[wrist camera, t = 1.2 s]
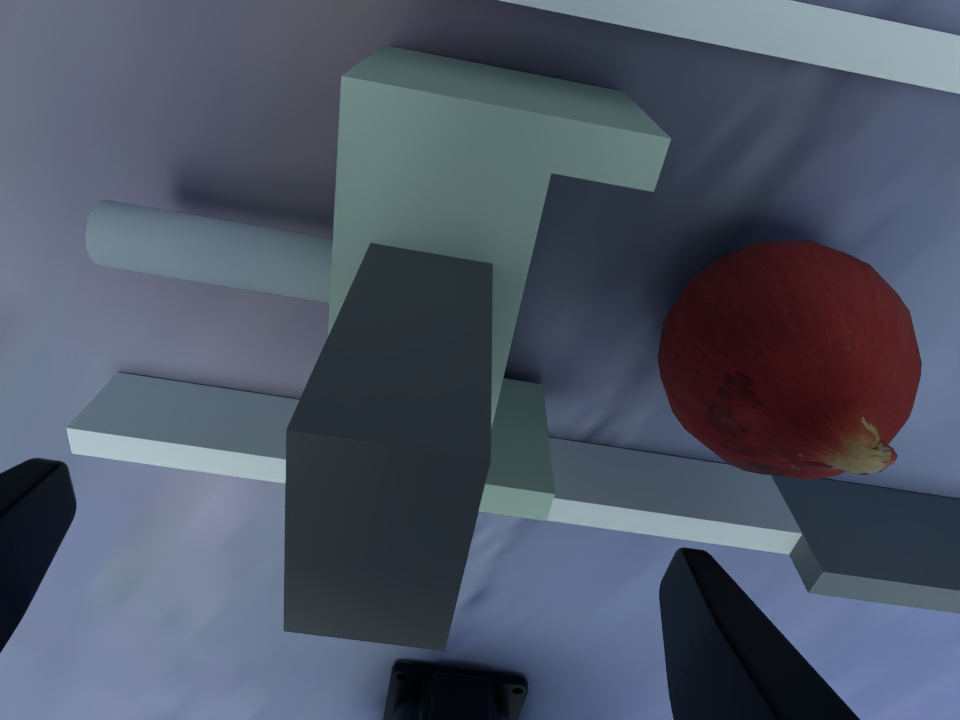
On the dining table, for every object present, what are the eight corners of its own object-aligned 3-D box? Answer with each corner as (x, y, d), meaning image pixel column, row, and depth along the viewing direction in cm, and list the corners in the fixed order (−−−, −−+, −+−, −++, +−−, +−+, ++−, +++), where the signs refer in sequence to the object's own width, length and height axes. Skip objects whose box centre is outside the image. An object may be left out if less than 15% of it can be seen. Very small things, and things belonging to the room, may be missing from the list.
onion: (717, 402, 21) (820, 606, 15) (596, 304, 19) (650, 486, 13) (871, 282, 19) (1083, 460, 12) (750, 156, 17) (919, 284, 10)
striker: (535, 408, 21) (568, 763, 12) (168, 352, 20) (-116, 688, 11) (623, 91, 16) (812, 277, 6) (129, -5, 15) (-494, 48, 5)
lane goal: (1029, 530, 24) (1202, 714, 18) (121, 396, 22) (-20, 559, 16) (1397, 131, 16) (1913, 227, 10) (32, -155, 14) (-319, -244, 8)
